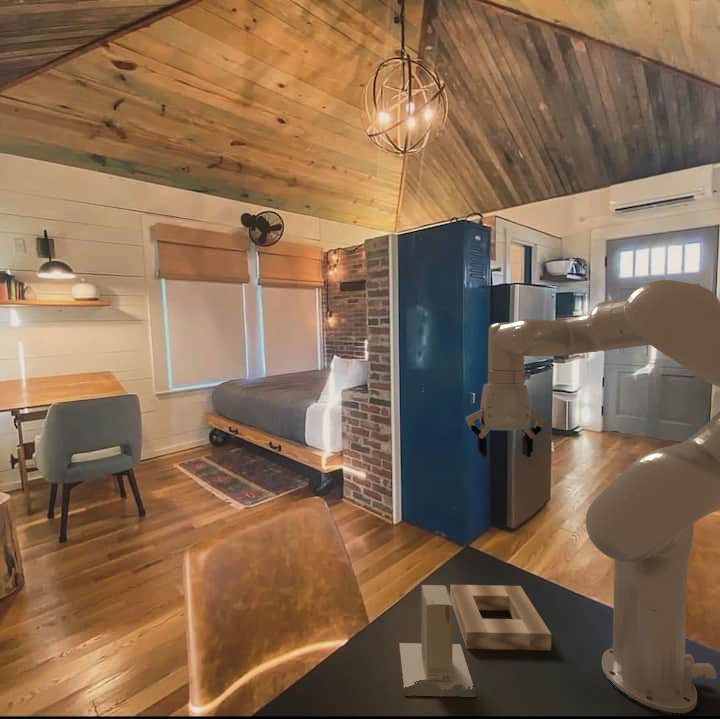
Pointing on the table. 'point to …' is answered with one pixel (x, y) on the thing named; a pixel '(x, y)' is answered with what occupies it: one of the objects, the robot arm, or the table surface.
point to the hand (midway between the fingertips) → (504, 455)
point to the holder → (498, 633)
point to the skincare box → (437, 632)
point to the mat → (415, 668)
